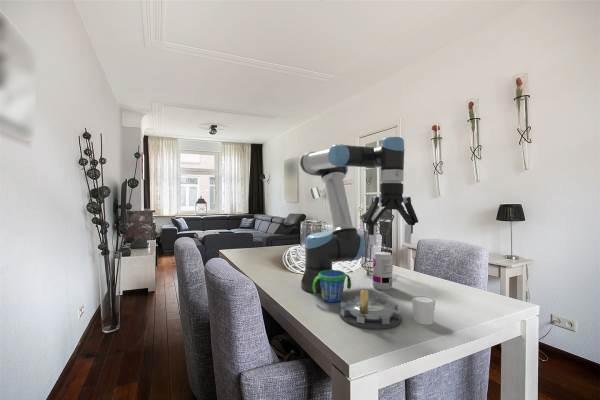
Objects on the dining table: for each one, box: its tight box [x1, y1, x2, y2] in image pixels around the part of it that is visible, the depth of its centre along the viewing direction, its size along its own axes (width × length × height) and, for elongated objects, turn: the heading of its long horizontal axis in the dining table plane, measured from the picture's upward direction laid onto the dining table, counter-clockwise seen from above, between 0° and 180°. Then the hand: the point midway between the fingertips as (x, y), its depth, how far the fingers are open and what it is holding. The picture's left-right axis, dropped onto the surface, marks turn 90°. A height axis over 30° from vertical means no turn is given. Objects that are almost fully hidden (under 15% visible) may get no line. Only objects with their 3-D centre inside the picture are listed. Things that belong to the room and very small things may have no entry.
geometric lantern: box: [359, 205, 395, 276], centre depth 151 cm, size 16×16×35 cm
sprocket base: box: [338, 307, 403, 331], centre depth 99 cm, size 20×20×1 cm
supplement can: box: [372, 251, 394, 291], centre depth 130 cm, size 8×8×15 cm
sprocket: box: [340, 289, 402, 325], centre depth 99 cm, size 20×20×9 cm
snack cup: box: [312, 269, 352, 303], centre depth 114 cm, size 16×10×10 cm
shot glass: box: [412, 295, 436, 326], centre depth 96 cm, size 7×7×7 cm
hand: (390, 243), depth 104 cm, fingers open, 13 cm apart
